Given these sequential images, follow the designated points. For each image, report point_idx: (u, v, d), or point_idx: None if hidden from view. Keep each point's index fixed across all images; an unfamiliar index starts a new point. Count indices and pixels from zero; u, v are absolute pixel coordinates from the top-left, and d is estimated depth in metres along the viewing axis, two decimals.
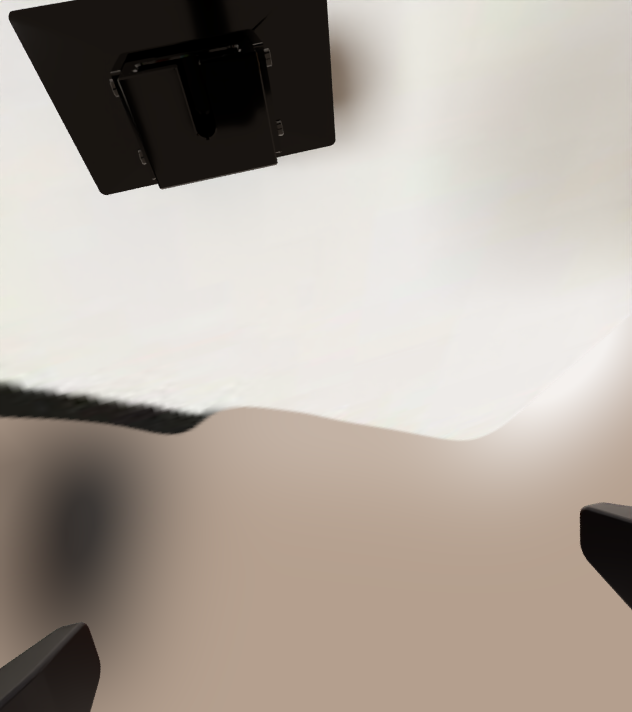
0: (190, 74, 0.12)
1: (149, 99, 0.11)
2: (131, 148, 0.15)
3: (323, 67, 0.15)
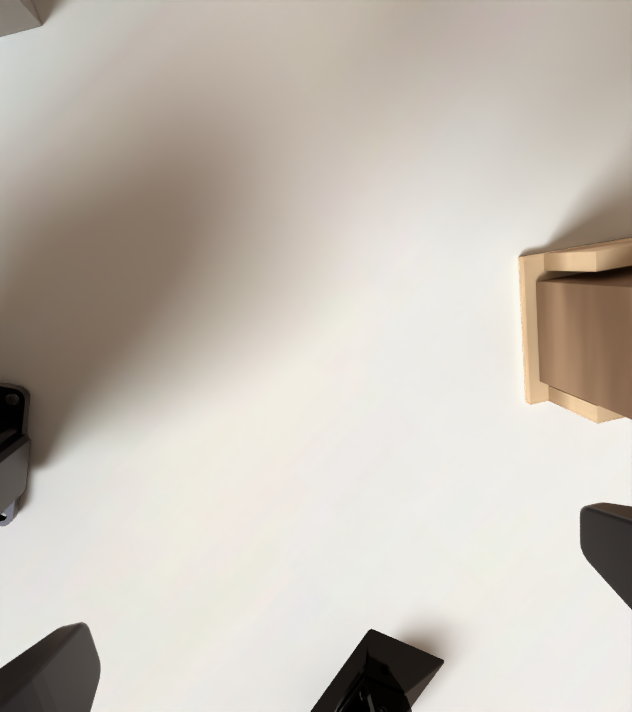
0: None
1: None
2: None
3: (406, 650, 0.24)
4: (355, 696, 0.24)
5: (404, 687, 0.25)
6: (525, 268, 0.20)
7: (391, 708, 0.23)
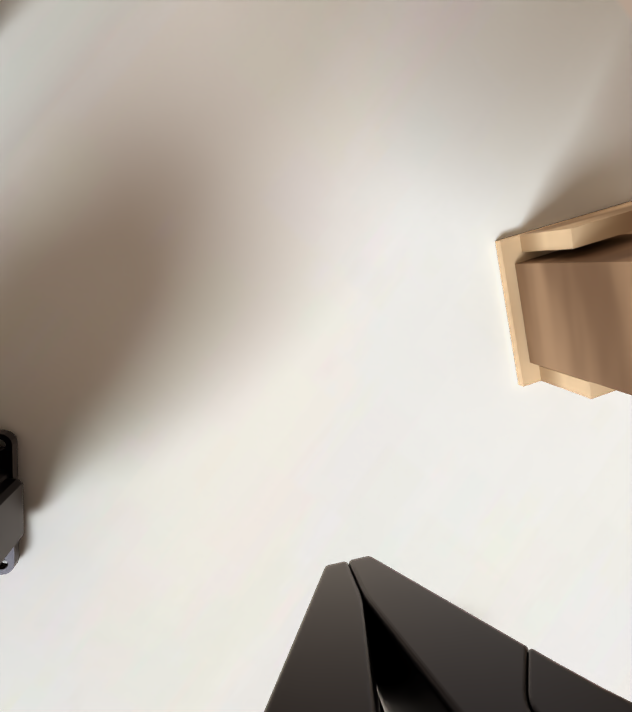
0: None
1: None
2: None
3: None
4: None
5: None
6: (503, 251, 0.20)
7: None
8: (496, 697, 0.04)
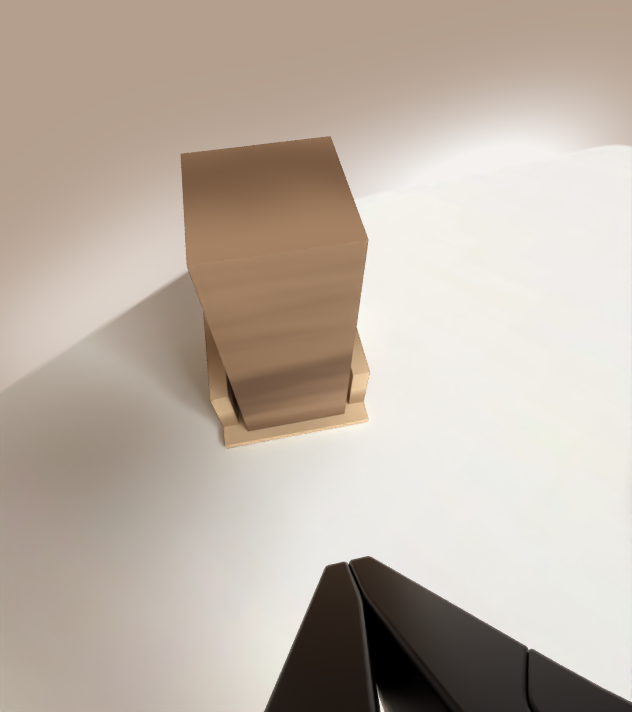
0: None
1: None
2: None
3: None
4: None
5: None
6: (235, 441, 0.21)
7: None
8: (496, 696, 0.04)
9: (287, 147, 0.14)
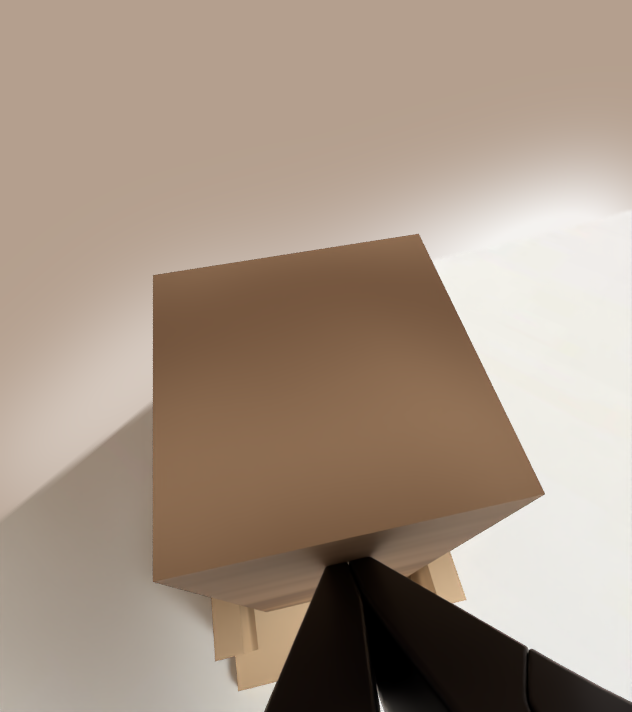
0: None
1: None
2: None
3: None
4: None
5: None
6: (254, 683, 0.14)
7: None
8: (496, 697, 0.04)
9: (345, 258, 0.08)
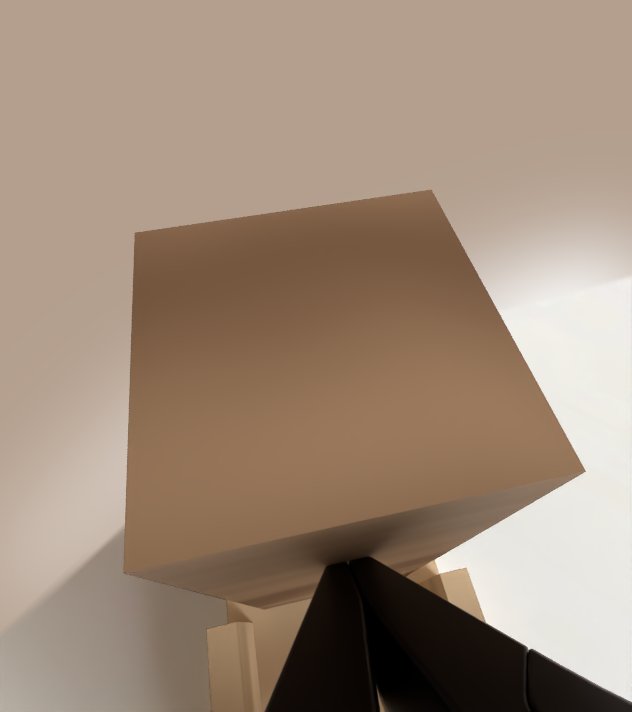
0: None
1: None
2: None
3: None
4: None
5: None
6: None
7: None
8: (496, 697, 0.04)
9: (349, 215, 0.07)
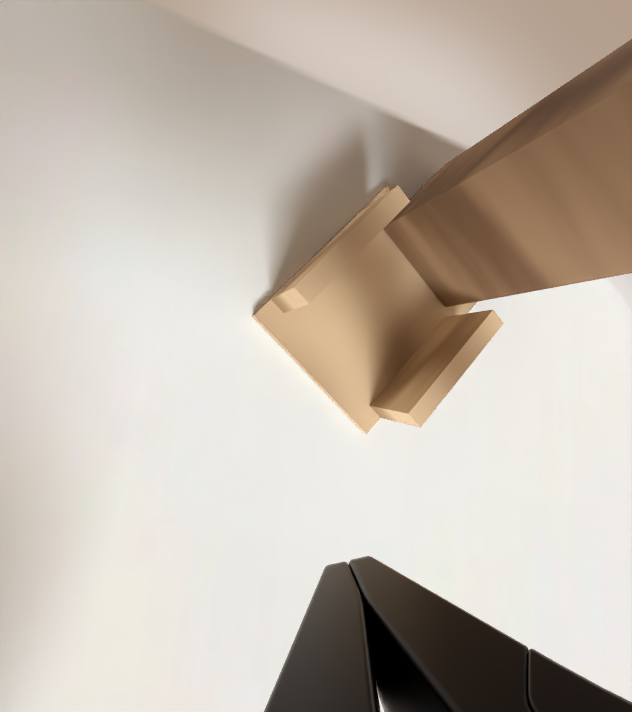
0: None
1: None
2: None
3: None
4: None
5: None
6: (264, 323, 0.18)
7: None
8: (496, 696, 0.04)
9: None
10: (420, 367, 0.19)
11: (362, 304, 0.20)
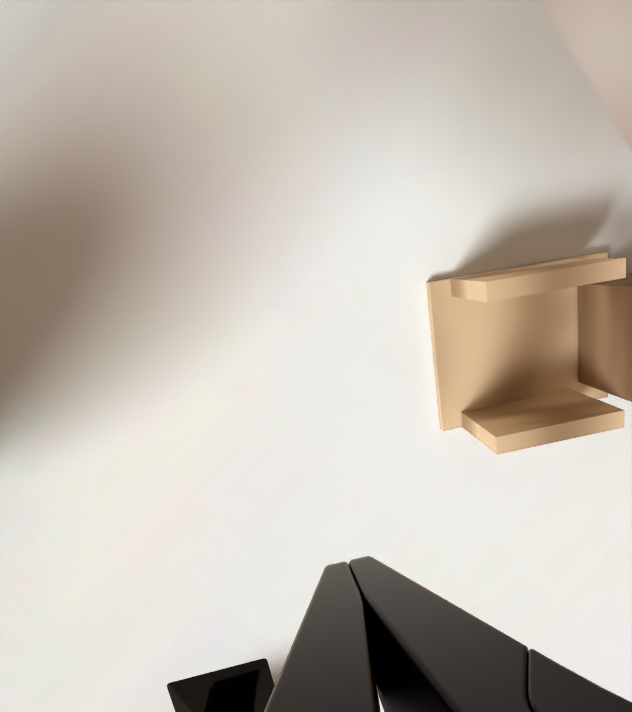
0: None
1: None
2: None
3: (219, 675, 0.23)
4: None
5: (248, 702, 0.23)
6: (432, 294, 0.20)
7: None
8: (497, 697, 0.04)
9: None
10: (525, 412, 0.20)
11: (514, 332, 0.21)
